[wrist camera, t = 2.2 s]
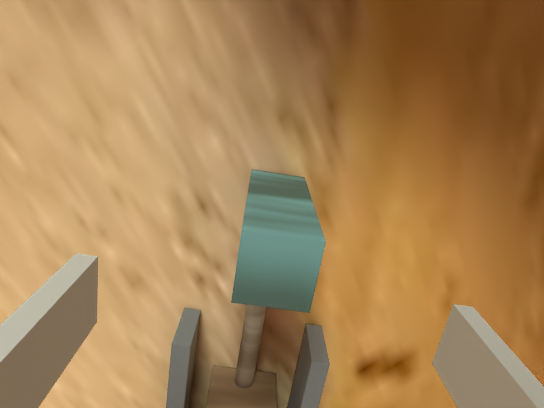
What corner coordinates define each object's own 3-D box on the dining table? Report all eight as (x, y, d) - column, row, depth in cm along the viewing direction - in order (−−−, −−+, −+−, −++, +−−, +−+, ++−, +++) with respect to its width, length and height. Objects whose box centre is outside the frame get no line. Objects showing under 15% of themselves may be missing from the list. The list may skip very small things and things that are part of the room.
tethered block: (240, 167, 25) (223, 227, 16) (315, 179, 25) (343, 244, 16) (205, 422, 32) (180, 567, 23) (264, 429, 33) (262, 575, 23)
